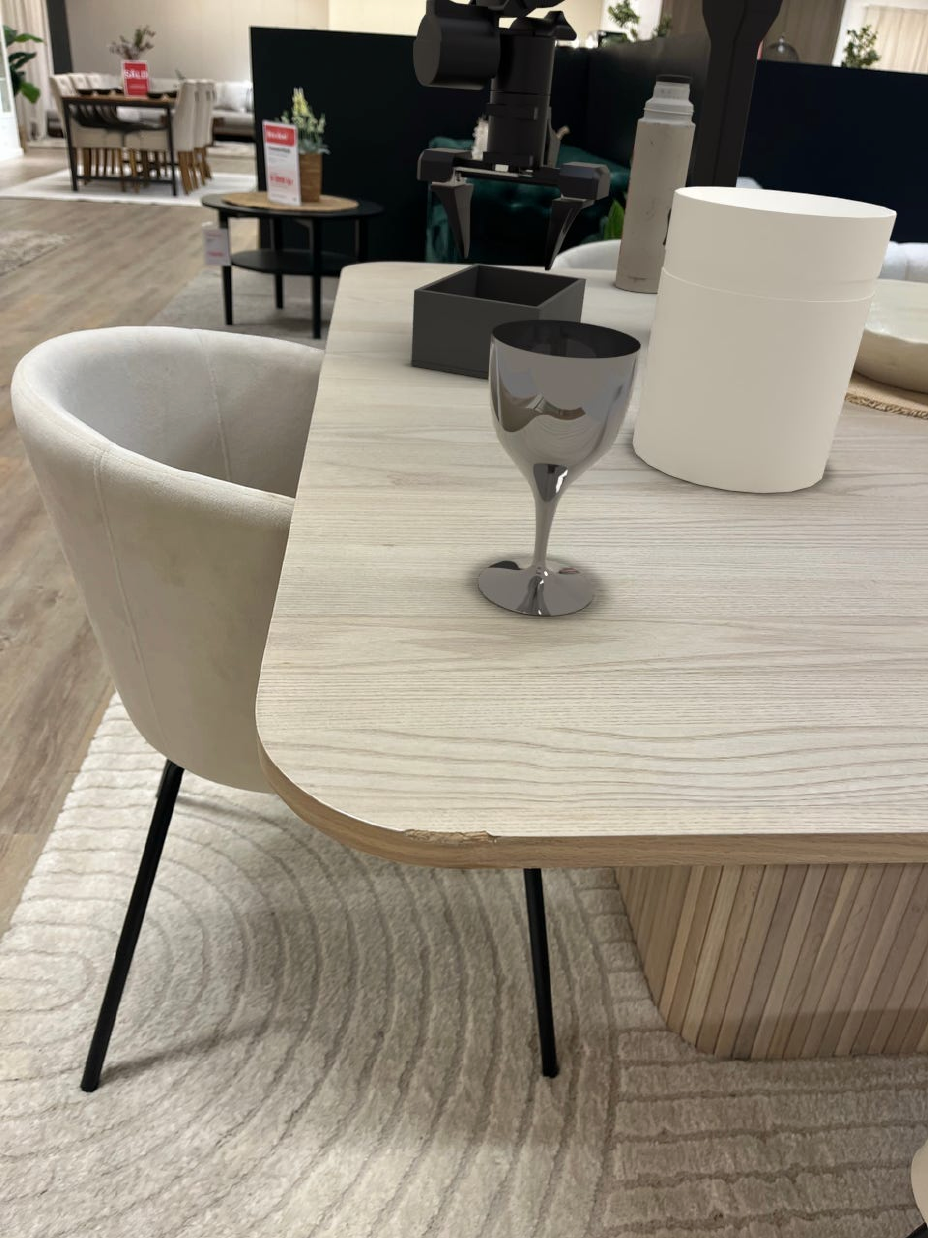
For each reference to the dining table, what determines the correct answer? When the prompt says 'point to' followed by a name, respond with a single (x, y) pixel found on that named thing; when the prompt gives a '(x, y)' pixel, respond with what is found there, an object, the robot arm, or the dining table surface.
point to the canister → (756, 334)
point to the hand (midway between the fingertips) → (505, 264)
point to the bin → (484, 313)
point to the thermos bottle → (655, 182)
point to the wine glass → (554, 438)
